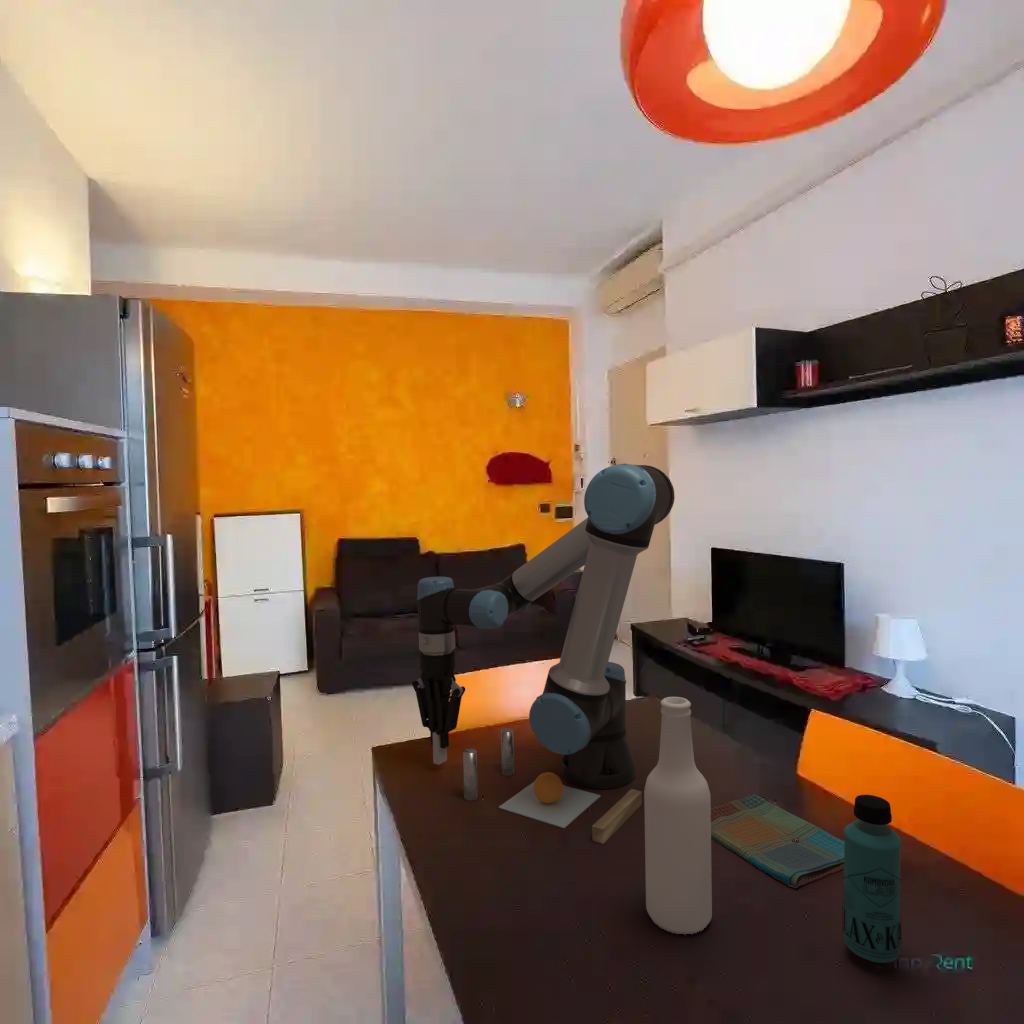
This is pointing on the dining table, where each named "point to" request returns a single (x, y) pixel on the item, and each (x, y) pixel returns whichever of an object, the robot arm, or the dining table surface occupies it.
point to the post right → (507, 751)
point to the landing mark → (551, 805)
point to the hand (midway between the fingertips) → (440, 761)
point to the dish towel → (775, 839)
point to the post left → (470, 774)
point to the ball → (548, 787)
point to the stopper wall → (616, 816)
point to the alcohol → (677, 829)
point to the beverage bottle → (872, 882)
